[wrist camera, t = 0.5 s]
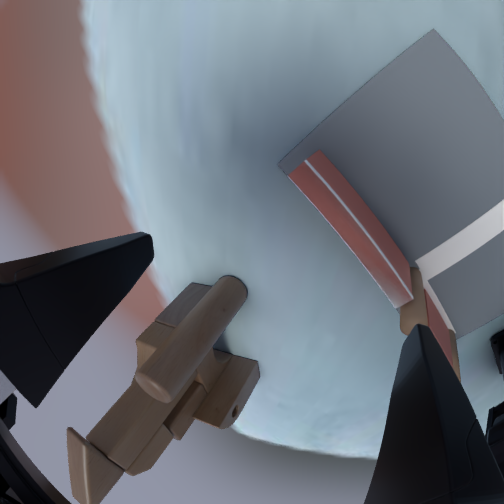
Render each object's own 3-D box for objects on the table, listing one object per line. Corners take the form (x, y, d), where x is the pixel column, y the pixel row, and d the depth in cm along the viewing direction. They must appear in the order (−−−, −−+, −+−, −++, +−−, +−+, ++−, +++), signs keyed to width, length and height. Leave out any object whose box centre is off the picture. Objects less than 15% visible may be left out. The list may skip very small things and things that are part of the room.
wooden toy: (263, 378, 32) (159, 545, 13) (216, 365, 35) (109, 510, 16) (246, 276, 25) (51, 517, 6) (186, 267, 28) (4, 451, 8)
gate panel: (409, 262, 17) (413, 299, 14) (395, 271, 18) (395, 308, 15) (320, 148, 17) (304, 160, 13) (306, 161, 17) (287, 176, 14)
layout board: (556, 272, 12) (557, 274, 11) (426, 351, 21) (426, 354, 21) (432, 29, 10) (433, 28, 9) (278, 163, 19) (276, 164, 19)
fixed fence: (456, 335, 19) (463, 385, 14) (440, 343, 20) (442, 393, 15) (414, 260, 18) (420, 309, 13) (394, 272, 19) (394, 322, 15)
